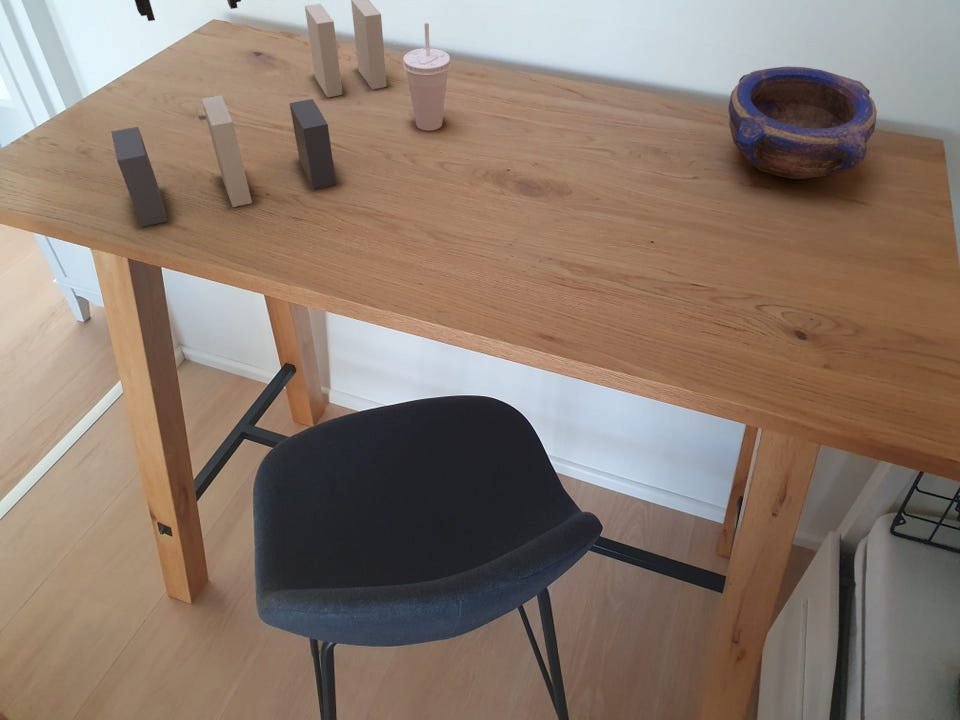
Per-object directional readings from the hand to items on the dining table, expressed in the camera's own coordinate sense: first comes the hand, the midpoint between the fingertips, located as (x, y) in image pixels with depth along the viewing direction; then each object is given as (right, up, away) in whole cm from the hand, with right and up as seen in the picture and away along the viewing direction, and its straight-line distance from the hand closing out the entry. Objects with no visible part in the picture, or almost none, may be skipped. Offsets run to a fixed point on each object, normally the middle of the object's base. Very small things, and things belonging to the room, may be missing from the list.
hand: (192, 12), depth 81 cm
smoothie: (+23, -3, +28) cm, 37 cm away
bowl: (+72, -11, +22) cm, 76 cm away
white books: (+11, +6, +37) cm, 39 cm away
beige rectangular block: (0, -16, +16) cm, 22 cm away
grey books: (0, -16, +16) cm, 22 cm away
